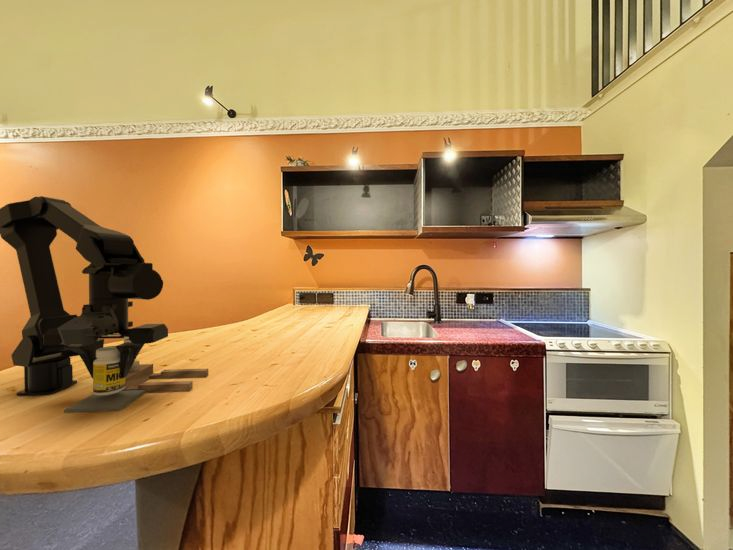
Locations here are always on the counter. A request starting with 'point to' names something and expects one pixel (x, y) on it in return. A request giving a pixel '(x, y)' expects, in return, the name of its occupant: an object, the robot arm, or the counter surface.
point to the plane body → (145, 372)
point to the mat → (105, 402)
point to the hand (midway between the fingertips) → (109, 377)
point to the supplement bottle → (107, 372)
